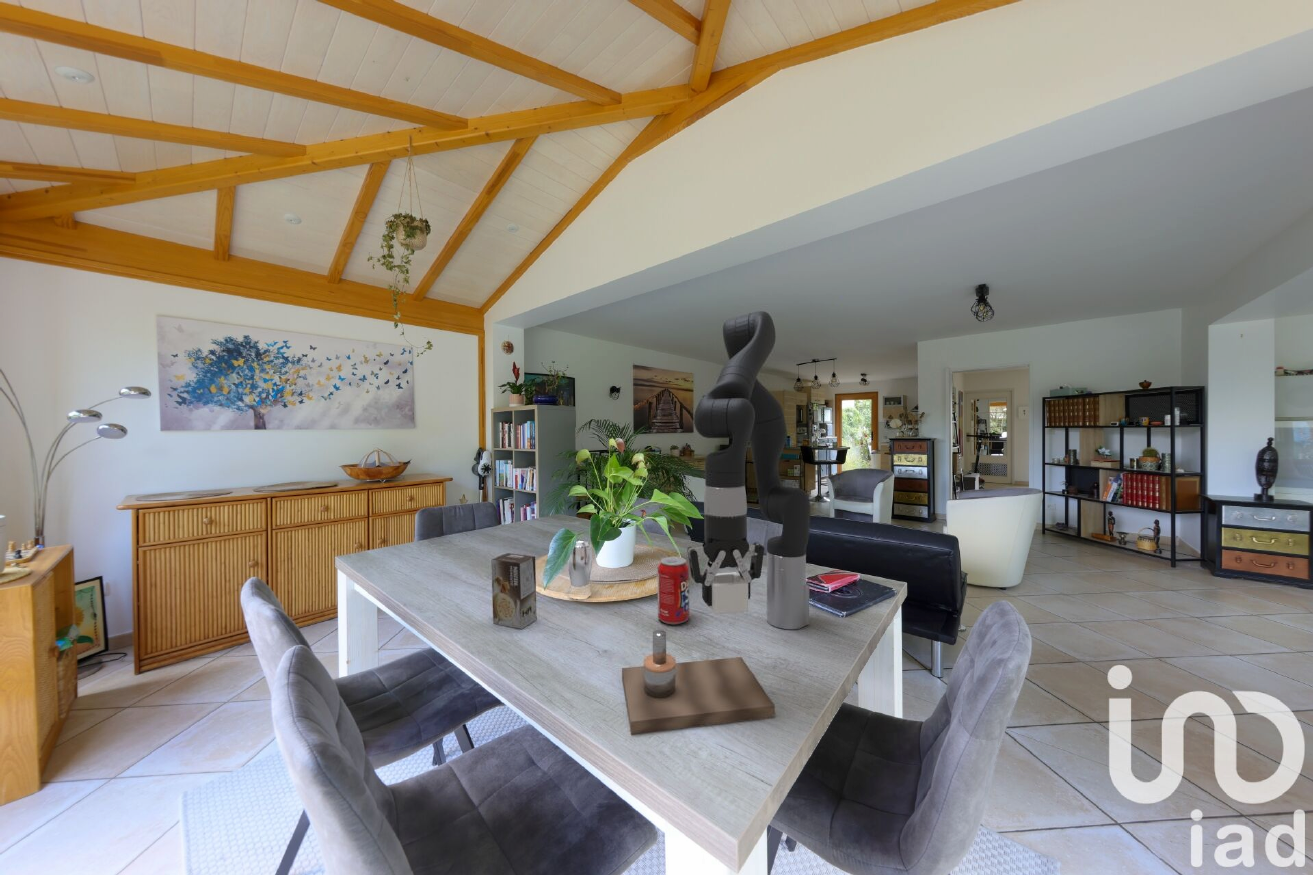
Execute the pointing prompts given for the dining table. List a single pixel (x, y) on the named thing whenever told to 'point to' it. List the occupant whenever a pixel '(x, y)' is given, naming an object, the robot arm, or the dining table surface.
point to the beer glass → (580, 564)
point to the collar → (729, 593)
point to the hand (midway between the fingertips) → (726, 602)
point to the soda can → (673, 590)
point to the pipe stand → (691, 692)
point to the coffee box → (514, 590)
